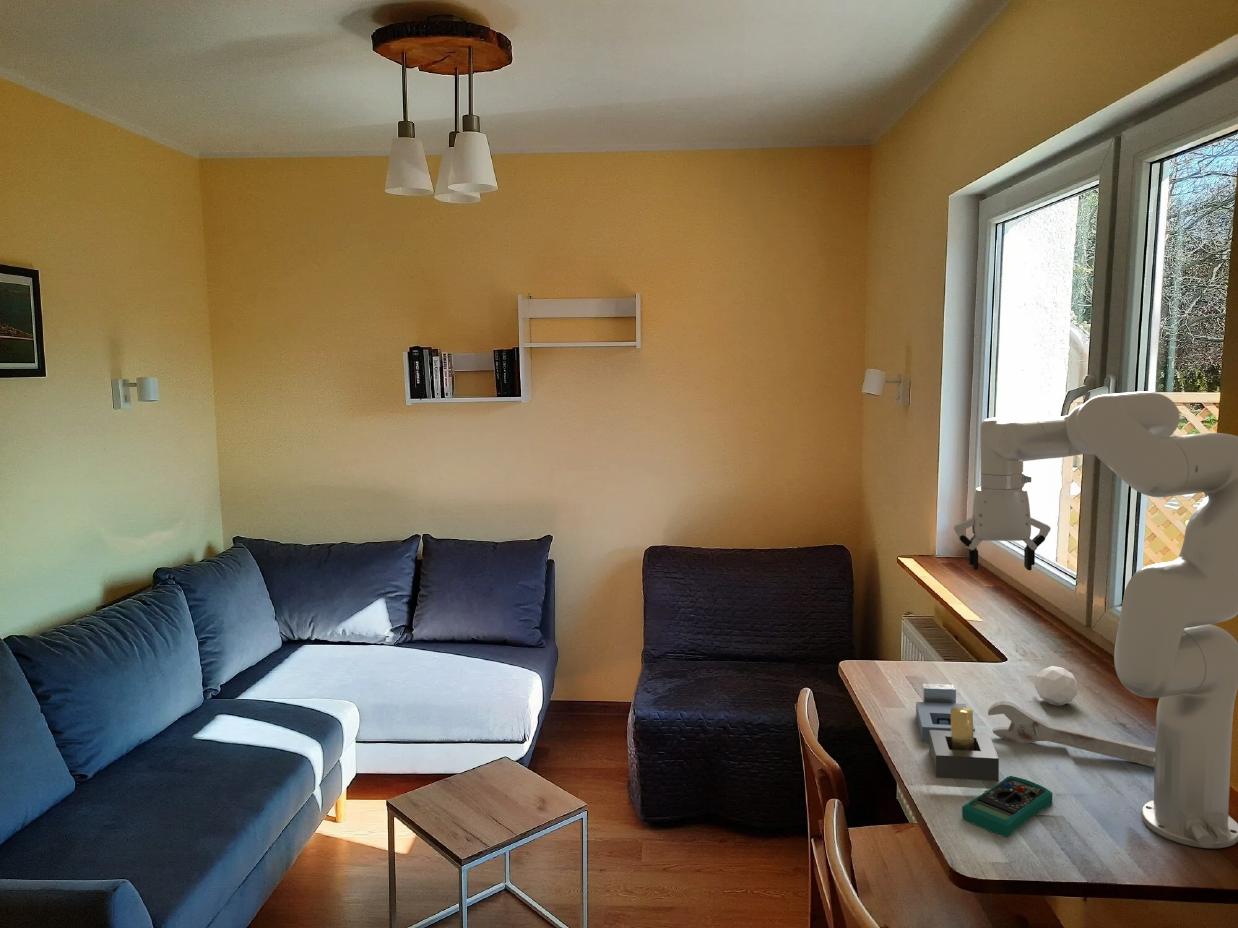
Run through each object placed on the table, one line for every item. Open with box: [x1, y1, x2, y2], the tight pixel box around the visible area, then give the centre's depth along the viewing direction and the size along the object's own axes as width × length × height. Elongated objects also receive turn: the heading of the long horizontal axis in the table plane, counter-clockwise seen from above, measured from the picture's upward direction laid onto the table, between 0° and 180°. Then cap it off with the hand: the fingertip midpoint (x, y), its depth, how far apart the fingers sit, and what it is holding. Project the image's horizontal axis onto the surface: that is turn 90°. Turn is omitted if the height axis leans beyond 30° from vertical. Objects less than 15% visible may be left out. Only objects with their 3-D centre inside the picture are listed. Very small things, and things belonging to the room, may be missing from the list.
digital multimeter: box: [961, 775, 1054, 838], centre depth 140 cm, size 8×15×3 cm, turn 128°
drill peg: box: [950, 706, 974, 751], centre depth 153 cm, size 4×4×10 cm
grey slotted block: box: [929, 730, 1000, 782], centre depth 153 cm, size 10×10×5 cm
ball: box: [1034, 665, 1079, 707], centre depth 179 cm, size 8×8×8 cm
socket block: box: [915, 701, 976, 744], centre depth 167 cm, size 12×9×4 cm
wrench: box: [987, 701, 1155, 768], centre depth 157 cm, size 8×2×30 cm
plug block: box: [922, 683, 957, 725], centre depth 172 cm, size 9×6×6 cm
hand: (1001, 568), depth 170 cm, fingers open, 9 cm apart
